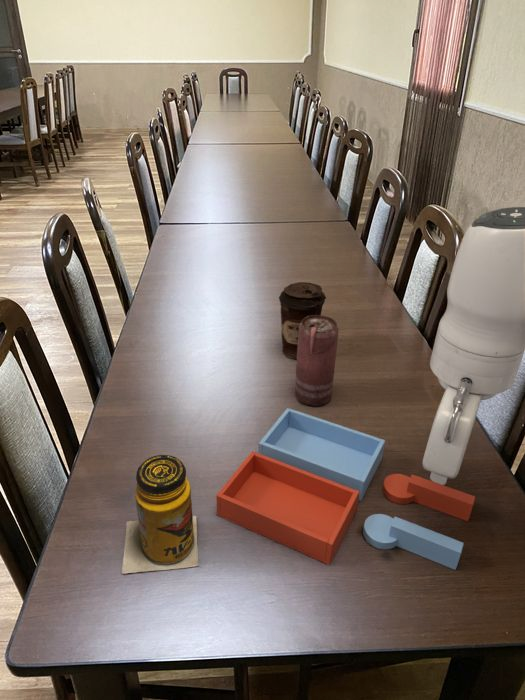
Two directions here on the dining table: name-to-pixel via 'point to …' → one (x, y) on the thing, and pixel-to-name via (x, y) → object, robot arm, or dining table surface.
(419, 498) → the red spoon
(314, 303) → the coffee cup
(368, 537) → the blue spoon
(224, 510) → the red bin
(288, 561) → the dining table surface
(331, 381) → the can
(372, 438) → the blue bin
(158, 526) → the condiment
